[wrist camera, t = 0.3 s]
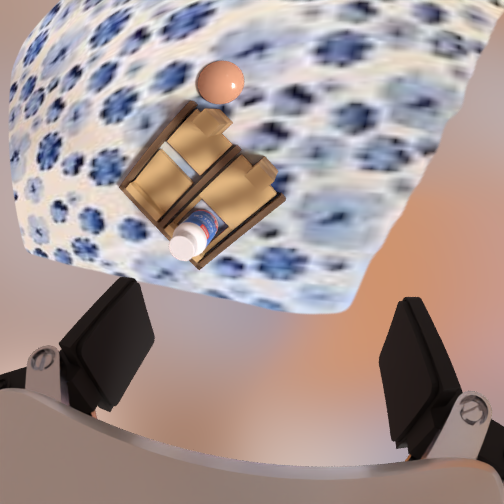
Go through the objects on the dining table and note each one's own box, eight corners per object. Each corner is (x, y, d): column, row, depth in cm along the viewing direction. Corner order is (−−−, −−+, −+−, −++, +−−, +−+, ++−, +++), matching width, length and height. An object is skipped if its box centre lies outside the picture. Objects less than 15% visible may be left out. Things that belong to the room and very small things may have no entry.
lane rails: (123, 185, 46) (116, 188, 44) (193, 100, 38) (188, 100, 36) (201, 266, 51) (197, 272, 49) (285, 197, 43) (285, 202, 41)
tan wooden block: (169, 140, 41) (147, 146, 35) (208, 98, 37) (191, 96, 31) (202, 174, 43) (185, 185, 37) (244, 134, 39) (233, 138, 33)
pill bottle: (225, 222, 46) (207, 248, 38) (207, 243, 49) (188, 273, 40) (199, 201, 46) (175, 224, 37) (183, 224, 48) (158, 250, 39)
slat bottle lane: (169, 224, 48) (151, 241, 42) (253, 144, 40) (244, 149, 34) (200, 256, 50) (187, 276, 44) (289, 183, 42) (286, 195, 35)
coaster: (190, 84, 36) (188, 83, 36) (222, 52, 34) (221, 52, 33) (220, 113, 38) (219, 113, 38) (254, 82, 35) (253, 81, 35)
